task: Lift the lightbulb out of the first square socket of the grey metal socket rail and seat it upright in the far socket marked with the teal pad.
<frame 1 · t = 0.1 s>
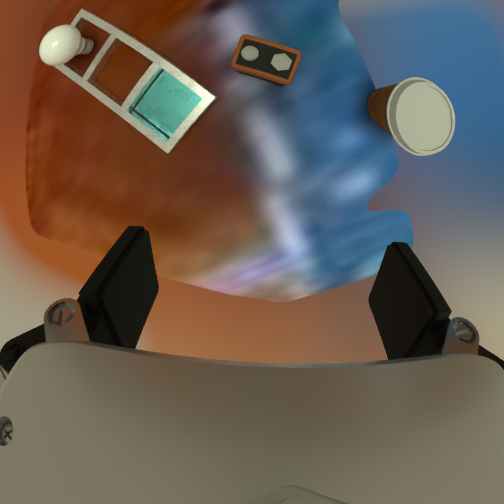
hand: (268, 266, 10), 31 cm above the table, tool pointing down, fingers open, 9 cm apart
battery: (265, 65, 31), on the table
disposable coffee cup: (385, 107, 33), on the table
lightbulb: (90, 47, 28), resting in socket rail
socket rail: (125, 71, 31), on the table
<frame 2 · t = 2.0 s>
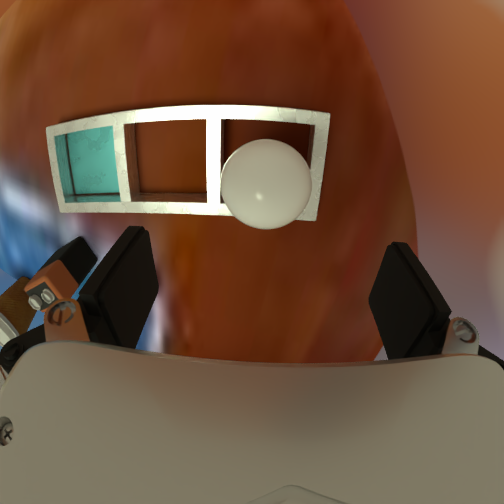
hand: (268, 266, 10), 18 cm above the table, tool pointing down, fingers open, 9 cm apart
battery: (77, 254, 33), on the table
disposable coffee cup: (31, 289, 38), on the table
lightbulb: (265, 157, 26), resting in socket rail
socket rail: (172, 156, 25), on the table
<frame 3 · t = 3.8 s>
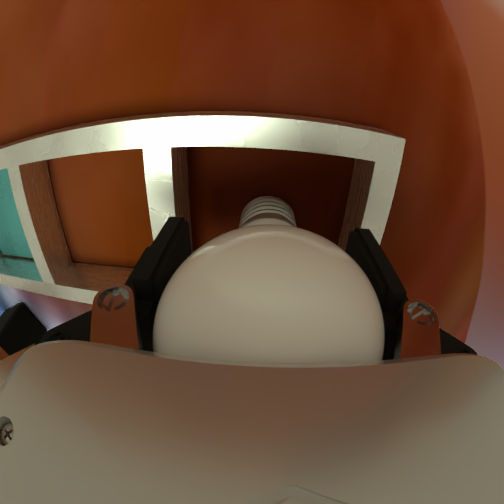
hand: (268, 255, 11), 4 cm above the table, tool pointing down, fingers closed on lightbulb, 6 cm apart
battery: (25, 318, 22), on the table
lightbulb: (267, 213, 14), resting in socket rail, touching gripper
socket rail: (105, 210, 14), on the table
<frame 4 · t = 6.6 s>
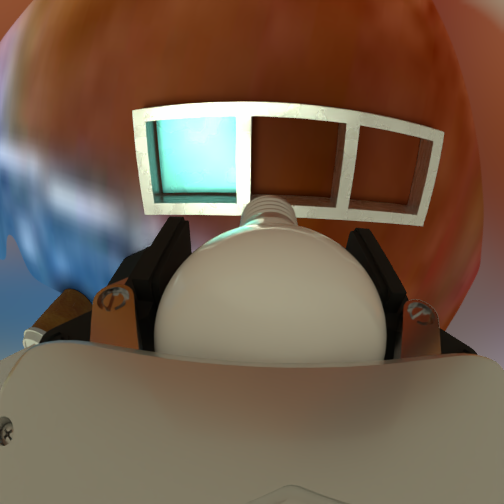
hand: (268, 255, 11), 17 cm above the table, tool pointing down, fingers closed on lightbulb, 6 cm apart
battery: (152, 261, 32), on the table
disposable coffee cup: (78, 302, 38), on the table
lightbulb: (268, 212, 14), point 13 cm above the table, touching gripper
socket rail: (294, 156, 25), on the table
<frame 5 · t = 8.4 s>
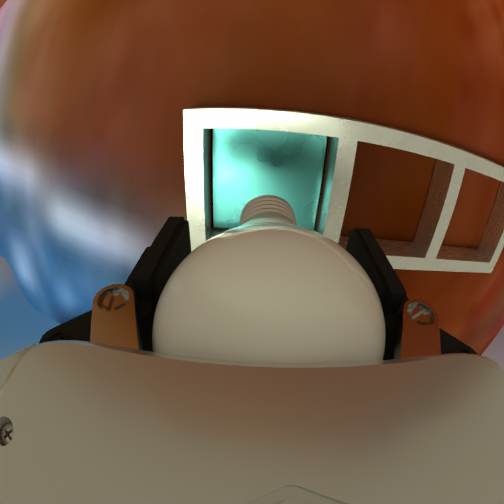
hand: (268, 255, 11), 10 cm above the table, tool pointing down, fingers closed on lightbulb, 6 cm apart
lightbulb: (267, 212, 14), point 6 cm above the table, touching gripper
socket rail: (386, 193, 19), on the table
when the fingers open (5 cm above the table, at t = 9.7 s): lightbulb moves 1 cm, resting on socket rail.
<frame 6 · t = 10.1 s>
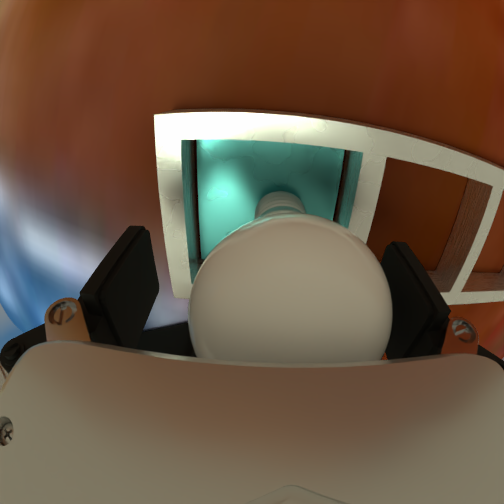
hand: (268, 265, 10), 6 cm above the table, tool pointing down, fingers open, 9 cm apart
battery: (177, 339, 23), on the table
lightbulb: (279, 207, 15), resting on socket rail
socket rail: (411, 218, 15), on the table
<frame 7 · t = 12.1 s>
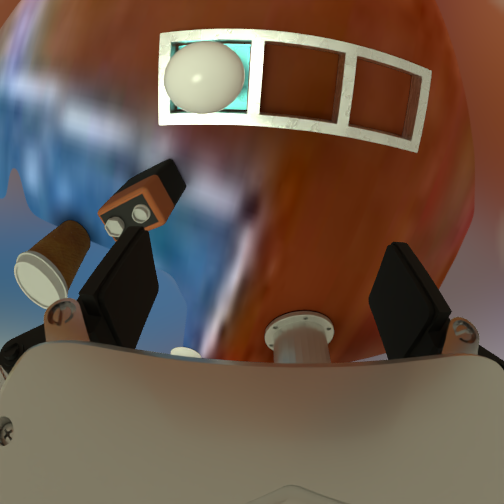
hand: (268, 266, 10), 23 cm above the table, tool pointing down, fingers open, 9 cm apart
battery: (157, 182, 32), on the table
disposable coffee cup: (75, 236, 37), on the table
lightbulb: (218, 77, 24), resting on socket rail
socket rail: (299, 81, 25), on the table
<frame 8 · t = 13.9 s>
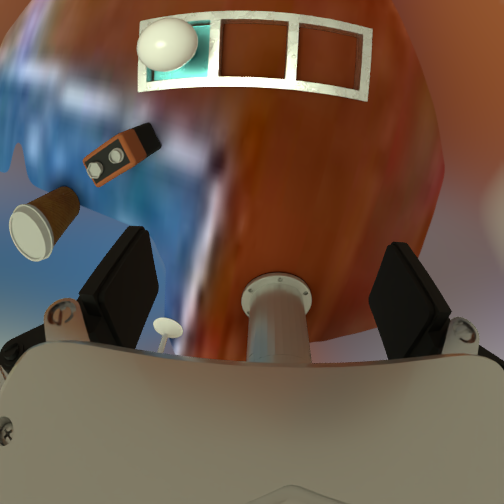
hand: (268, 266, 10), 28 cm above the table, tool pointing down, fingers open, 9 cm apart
battery: (138, 144, 35), on the table
disposable coffee cup: (67, 202, 40), on the table
champagne flute: (168, 327, 56), on the table
lightbulb: (187, 52, 27), resting on socket rail
socket rail: (253, 50, 27), on the table
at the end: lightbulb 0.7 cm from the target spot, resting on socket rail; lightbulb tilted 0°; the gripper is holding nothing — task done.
